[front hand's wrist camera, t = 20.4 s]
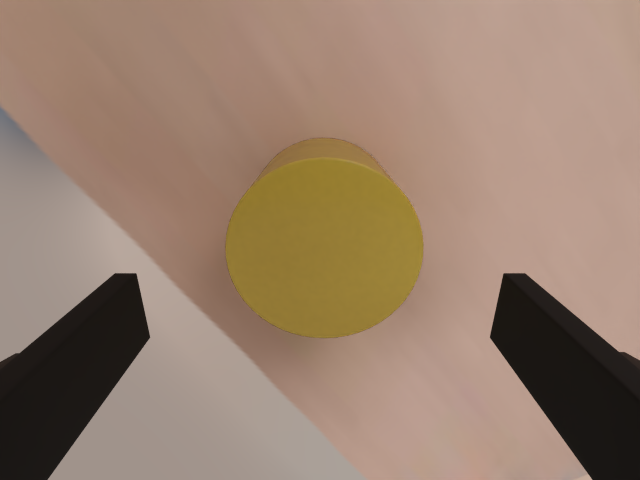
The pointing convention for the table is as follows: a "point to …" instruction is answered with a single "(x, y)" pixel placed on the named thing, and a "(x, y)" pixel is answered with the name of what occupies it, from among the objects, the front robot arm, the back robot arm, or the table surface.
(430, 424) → the table surface
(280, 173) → the tin
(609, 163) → the table surface
